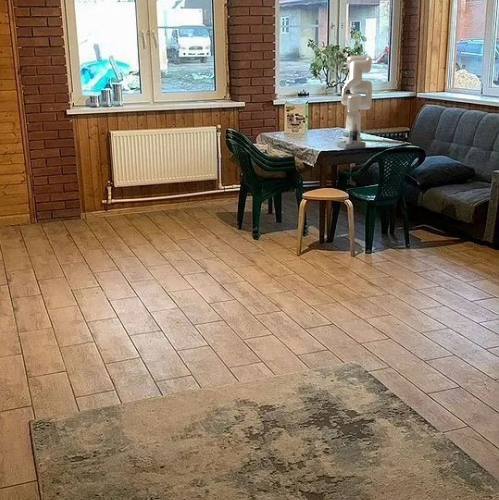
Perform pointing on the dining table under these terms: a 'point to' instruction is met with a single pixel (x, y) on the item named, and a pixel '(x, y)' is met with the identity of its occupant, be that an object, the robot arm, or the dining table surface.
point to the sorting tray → (351, 145)
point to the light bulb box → (350, 136)
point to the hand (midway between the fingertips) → (351, 139)
